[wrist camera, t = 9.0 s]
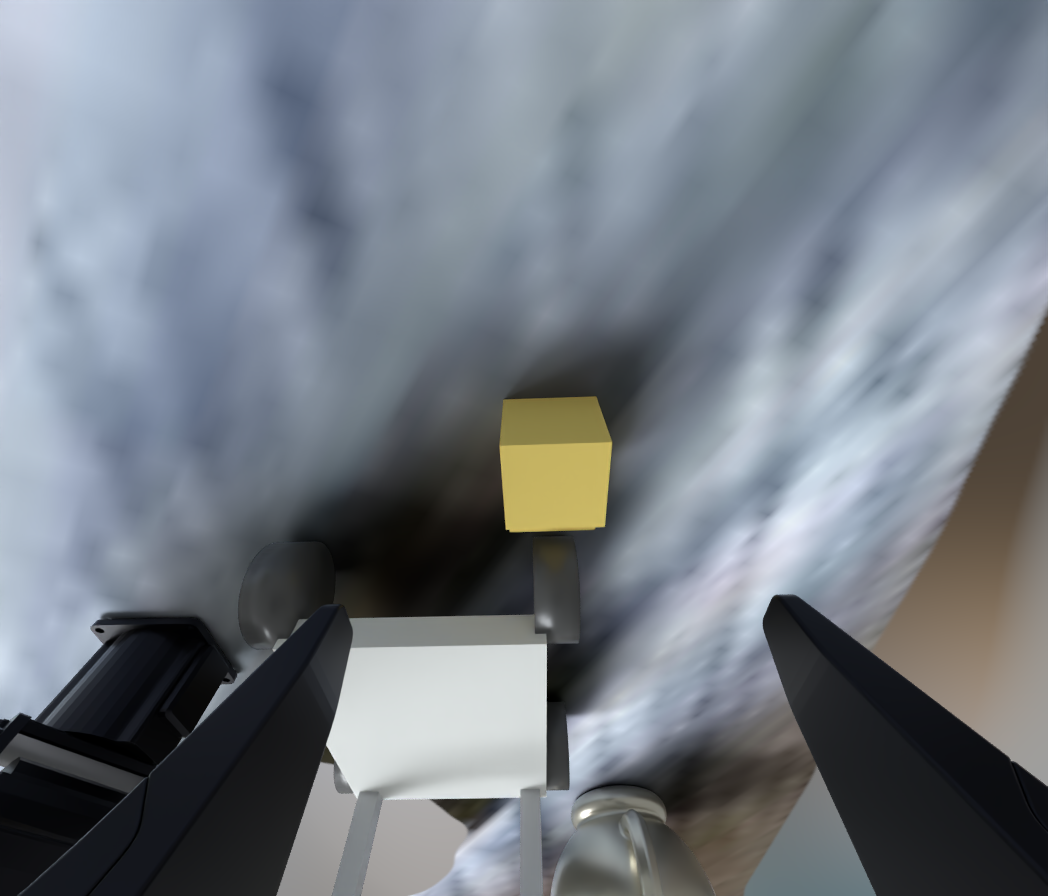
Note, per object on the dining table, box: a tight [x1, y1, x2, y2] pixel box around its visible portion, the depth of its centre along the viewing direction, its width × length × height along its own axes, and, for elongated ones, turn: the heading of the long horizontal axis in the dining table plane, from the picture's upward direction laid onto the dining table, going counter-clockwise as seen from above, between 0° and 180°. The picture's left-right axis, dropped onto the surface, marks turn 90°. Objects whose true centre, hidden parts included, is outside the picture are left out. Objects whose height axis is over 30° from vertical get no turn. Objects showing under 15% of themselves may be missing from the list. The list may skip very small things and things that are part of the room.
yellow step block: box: [500, 396, 612, 532], centre depth 18 cm, size 4×6×4 cm, turn 2°
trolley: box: [238, 536, 580, 896], centre depth 21 cm, size 21×15×14 cm
